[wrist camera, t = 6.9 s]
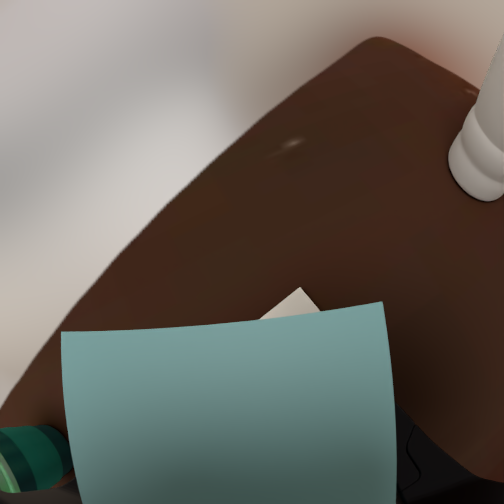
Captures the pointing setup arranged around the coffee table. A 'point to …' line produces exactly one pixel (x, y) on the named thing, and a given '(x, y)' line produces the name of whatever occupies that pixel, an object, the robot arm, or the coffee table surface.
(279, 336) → the teal block
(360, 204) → the coffee table surface
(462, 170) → the water bottle
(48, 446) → the cup
